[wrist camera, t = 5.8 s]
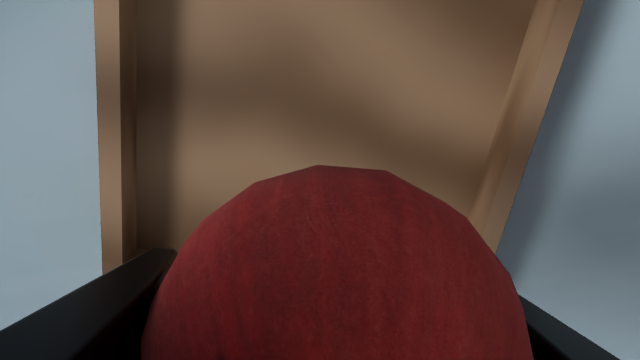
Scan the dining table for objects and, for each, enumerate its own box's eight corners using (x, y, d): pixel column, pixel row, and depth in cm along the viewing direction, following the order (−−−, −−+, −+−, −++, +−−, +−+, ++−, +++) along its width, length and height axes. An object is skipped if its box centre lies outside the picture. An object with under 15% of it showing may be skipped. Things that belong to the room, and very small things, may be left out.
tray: (454, 289, 23) (470, 323, 21) (124, 252, 21) (103, 284, 19) (560, -41, 17) (599, -45, 15) (120, -121, 16) (89, -139, 13)
